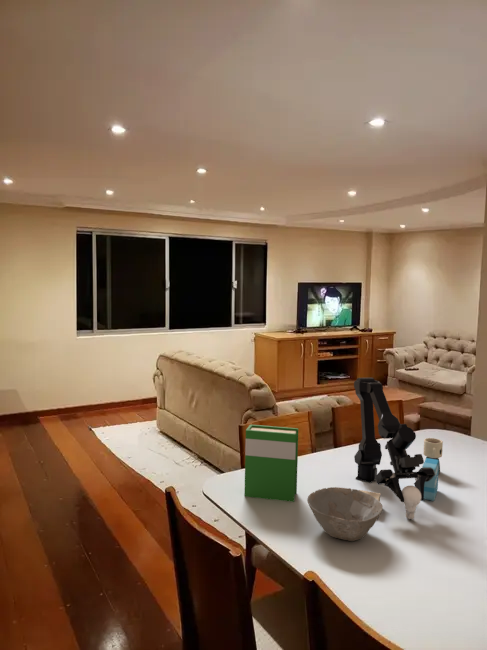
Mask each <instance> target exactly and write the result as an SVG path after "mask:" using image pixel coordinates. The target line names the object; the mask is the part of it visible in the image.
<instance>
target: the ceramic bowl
mask: <svg viewBox="0 0 487 650" xmlns="http://www.w3.org/2000/svg"><path fill="white" fill-rule="evenodd" d="M359 490H360V489H354V488H353V489H351V488H347V487H346V488H345V487H339V486H335V487H327V488H326V487H325V488H320V489H317V490H315V491H312V492H311V493H310V494H309V495H308V496H307V499H306V501H307V503H308V506H309V508H310V510H311V513H312V514H313V516H314V518H315V519H316V522H318V524H319V525H320V527H321V528H322V530H323V531H324V532H325V533H326V534H327V535H329V536H331V537H332V538H336V539H337V540H338V539H340V540H343V541H349V542H354V541H358V540H360V539H363V538H364V536H366V535H367V534H368V533H369V531H370V529H372V528H373V526H374V525H375V523H376V522H377V520H378V519H379V517H380V515H381V513H382V512H383V509H384V508H383V507H384V506H383V504H382V502H381V501H380V502H379V501H378V500H377V499H376V498H375V497H373V496H371V495H369V494H367V493H364V492H362V491H359Z"/></svg>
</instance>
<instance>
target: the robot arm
mask: <svg viewBox="0 0 487 650" xmlns="http://www.w3.org/2000/svg"><path fill="white" fill-rule="evenodd" d="M353 382H354V383H353V388H354V390H355V395H356V397H357V398H358V399H359V403H360V418H361V435H362V436H361V437H362V439H360V441H359V444H358V450H357V451H356V453H355V454H354V462H355V463H356V464H357V476H356V477H355V480H358V481H359V480H360V481H363V482H366V483H374V481H375V482H376V485H384V487H387V488H388V489H390V491H392V492H393V493H394V495H395V496H396V497H397V498H398V499H399V501H400V502H401V503H403V502H404V497H403V494H402V488H401V486H400V480H401V479H404V480H405V479H414V480H415V482H414V483H413V486H415V487H416V488H418V489H419V491H420V492H421V501H420V502H424V500H425V499H424V484H425V482H427V481H430V480H431V479H432V478H433V477H434V476H435V472H434V470H433V469H432V468H431V467H429V468H422V467H421V468H420V465H423V464H424V462H425V460H424V457H423V453H416V454H414V456H411V455H410V454H408V453H407V449H408V448H410V446H411V445H412V444H413V443H414V442H415V440H416V439H417V437H416V436H417V434H416V432H415V431H414V430H413V429H412V428H411V427H409V426H408V425H407V424H406V423H401V422H400V421H399V419H398V417H396V416H395V415H394V414H393V413H392V411H391V408H390V405H389V403H388V400H387V398H386V395H385V391H384V385H383V383H381V382H380V381H379V380H375V378H374V377H357V378H356V380H354V381H353ZM374 409H375V412H374ZM374 413H376V415H377V417H378V423H377V431H378V435H379V436H380V438H381V439H384V440H385V439H386V440H387V439H389V440H388V441H386V444H385V446H384V449H385V450H387V451H388V454H389V455H388V456H389V458H390V462H389V464H390V466H392V469H393V470H392V469H380V470H379V471H378V467H377V466H378V465H379V466H380V465H381V460H382V456H383V452H382V446H381V443H380V442H378V440H377V439H376V430H375V414H374ZM417 468H420V469H419V470H418V471H415V470H416V469H417ZM393 471H394V472H393Z"/></svg>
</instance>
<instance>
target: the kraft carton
mask: <svg viewBox="0 0 487 650" xmlns="http://www.w3.org/2000/svg"><path fill="white" fill-rule="evenodd" d="M358 490H359V491H362V492H364V493H367V494H369V495H371V496H373V497H375V498H376V499H377V500H378V501H379V502H380V503H381V493H380V492H376V491H375V492H373V491H368V490H361V489H358Z"/></svg>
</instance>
